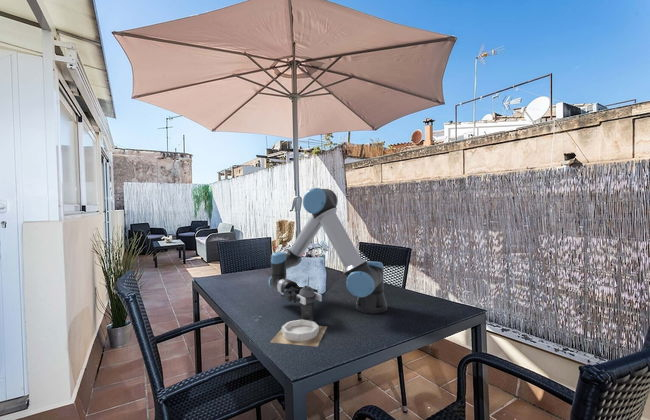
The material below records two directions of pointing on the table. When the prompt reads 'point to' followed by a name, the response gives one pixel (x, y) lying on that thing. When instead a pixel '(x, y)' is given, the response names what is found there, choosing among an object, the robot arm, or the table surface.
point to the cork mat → (313, 342)
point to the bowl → (300, 330)
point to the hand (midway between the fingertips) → (313, 299)
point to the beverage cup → (307, 302)
